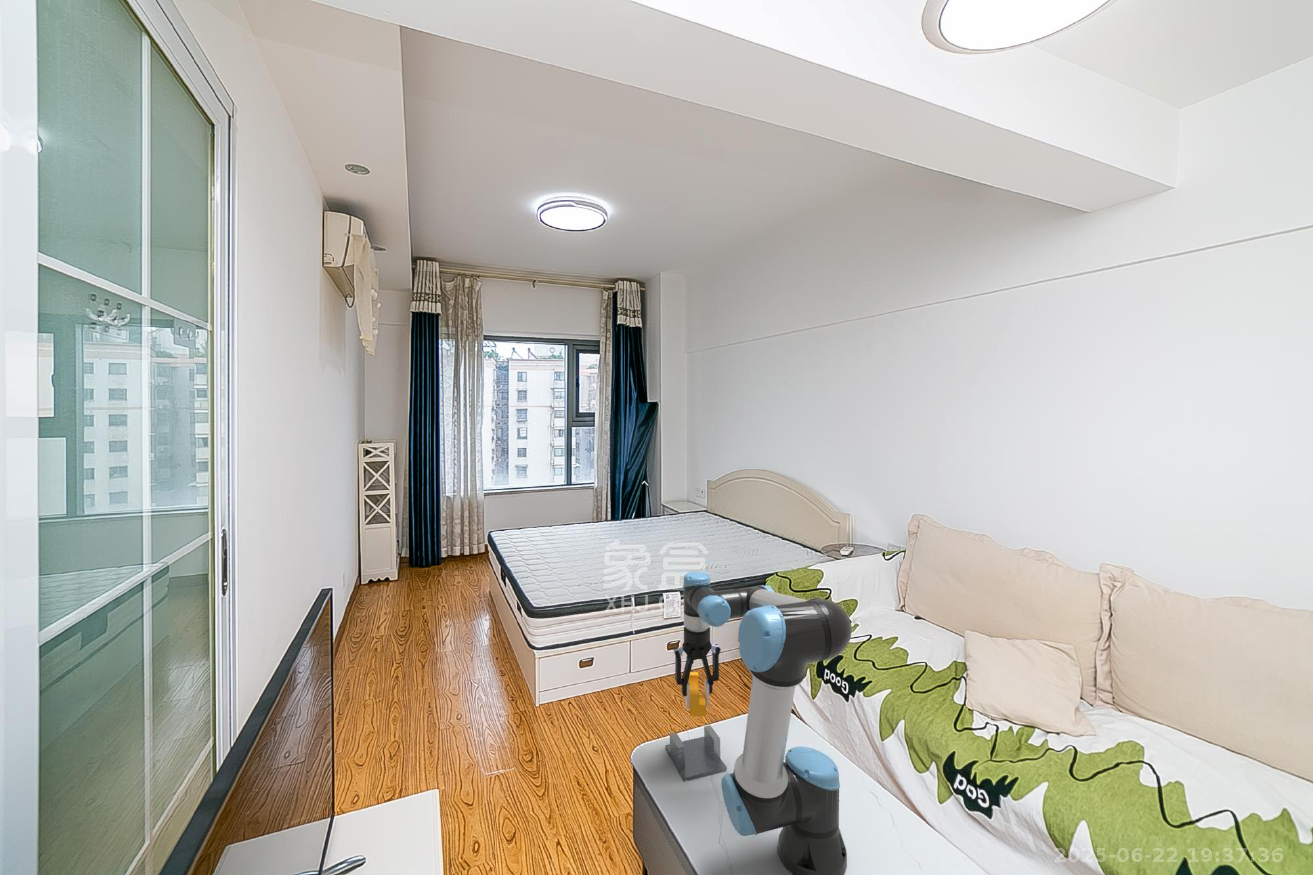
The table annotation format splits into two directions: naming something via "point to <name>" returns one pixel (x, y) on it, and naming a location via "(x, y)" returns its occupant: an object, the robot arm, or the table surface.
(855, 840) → the table surface
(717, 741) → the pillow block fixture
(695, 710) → the orange angled block
